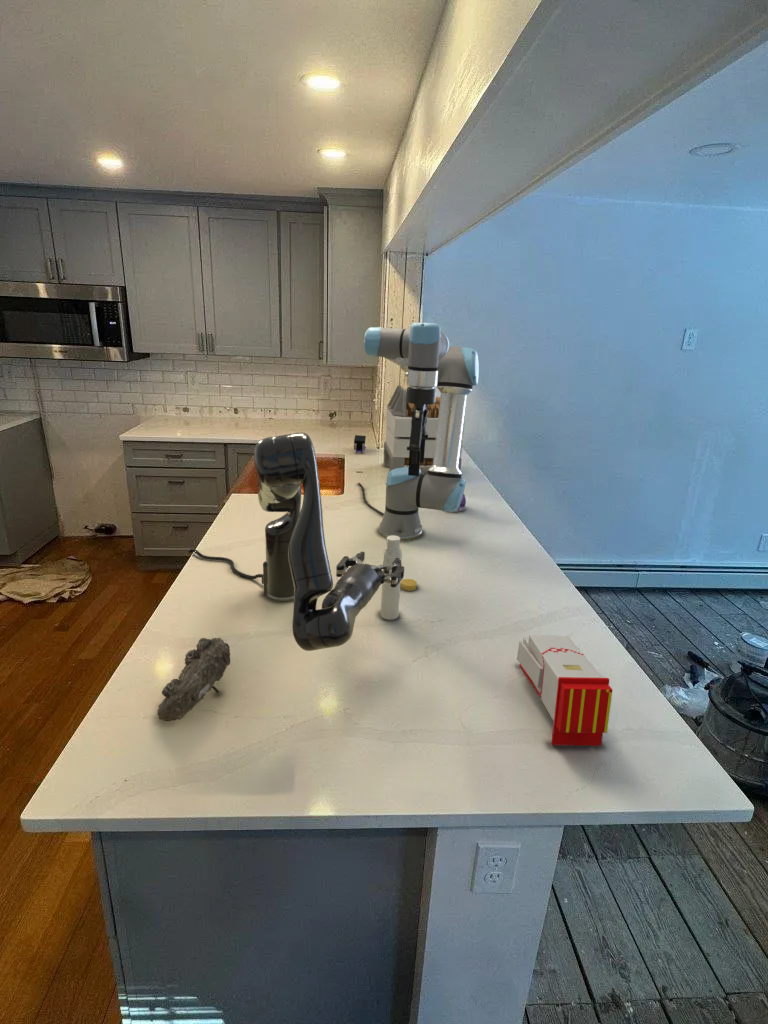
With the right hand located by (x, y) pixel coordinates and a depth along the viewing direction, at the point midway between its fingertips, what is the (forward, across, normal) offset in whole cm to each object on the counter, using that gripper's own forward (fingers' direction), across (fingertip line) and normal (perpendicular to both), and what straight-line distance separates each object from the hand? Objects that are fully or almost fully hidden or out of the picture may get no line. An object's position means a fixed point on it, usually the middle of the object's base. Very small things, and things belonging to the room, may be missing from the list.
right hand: (416, 468), depth 150 cm
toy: (+35, +43, +35) cm, 66 cm away
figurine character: (+35, -154, -45) cm, 165 cm away
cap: (+34, 0, 0) cm, 34 cm away
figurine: (+35, -72, +10) cm, 80 cm away
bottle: (+35, +17, -3) cm, 39 cm away
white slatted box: (+35, -120, -9) cm, 125 cm away
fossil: (+35, +56, -36) cm, 75 cm away
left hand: (+15, +27, -5) cm, 31 cm away
